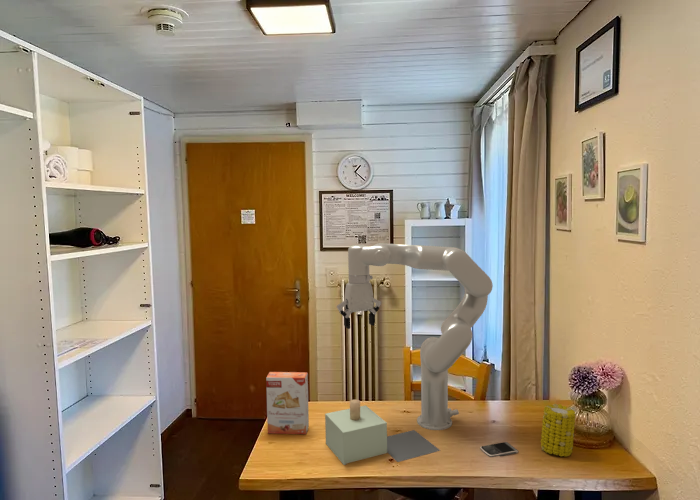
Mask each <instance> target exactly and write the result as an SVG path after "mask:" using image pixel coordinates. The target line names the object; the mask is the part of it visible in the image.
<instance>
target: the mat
mask: <svg viewBox="0 0 700 500" xmlns="http://www.w3.org/2000/svg"><path fill="white" fill-rule="evenodd" d="M440 451H441V449H440V448H438V447H436V446H435V445H434V444H433V443H432V442H430V441H429V440H428V439H427V438H425V437H424V436H423V435H422V434H420V433H419V432H417V431H416V430H415V429H412V430H408V431H405V432H400V433H399V432H398V433H396V434H393V435H387V453H386V454H388V455H390V457H391V458H393V459H394V461H396V462H397V463H400V462H404V461H408V460H411V459H414V458H418V457H419V458H420V457H422V456H425V455H430V454H433V453H437V452H440Z"/></svg>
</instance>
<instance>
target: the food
mask: <svg viewBox="0 0 700 500" xmlns="http://www.w3.org/2000/svg"><path fill="white" fill-rule="evenodd" d="M543 408H544V409H543V416H542V419H541V421H542V423H541V435H540V436H541V437H540V443H541V444H540V447H541V451H543V452H545V453H546V454H547V453H548V454H549V455H556V456H560V457H566V458H567V457H569V456H571V454H572V453H573V449H574V448H573V447H574V437H575V424H576V412H575V410H574V409H572V408H571V407H567V406H566V405H562V404H561V403H559V404H558V403H553V404H548V405H545V406H544V407H543Z"/></svg>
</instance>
